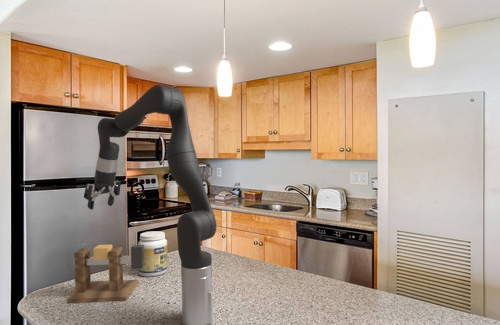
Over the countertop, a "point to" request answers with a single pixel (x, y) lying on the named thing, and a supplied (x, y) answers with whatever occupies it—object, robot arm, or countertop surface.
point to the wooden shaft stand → (100, 289)
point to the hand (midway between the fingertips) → (100, 207)
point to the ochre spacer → (102, 252)
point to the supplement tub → (154, 253)
